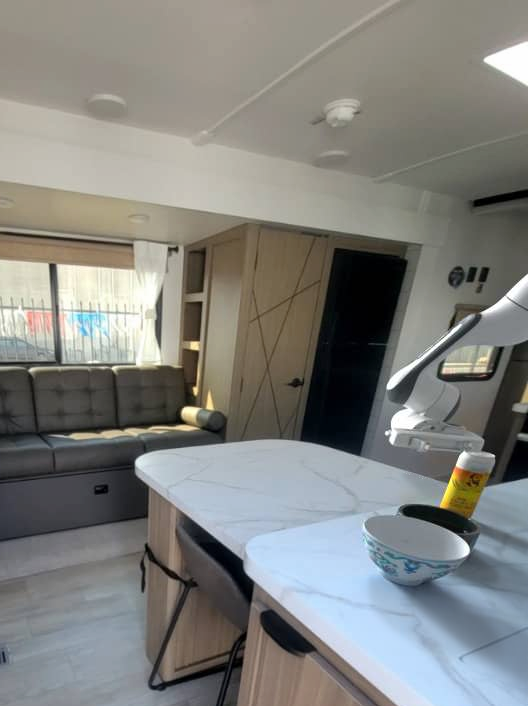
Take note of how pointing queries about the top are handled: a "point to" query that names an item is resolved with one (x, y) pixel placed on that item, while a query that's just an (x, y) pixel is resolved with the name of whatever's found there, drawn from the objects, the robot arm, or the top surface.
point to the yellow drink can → (468, 481)
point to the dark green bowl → (444, 520)
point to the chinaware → (412, 548)
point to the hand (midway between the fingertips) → (447, 449)
